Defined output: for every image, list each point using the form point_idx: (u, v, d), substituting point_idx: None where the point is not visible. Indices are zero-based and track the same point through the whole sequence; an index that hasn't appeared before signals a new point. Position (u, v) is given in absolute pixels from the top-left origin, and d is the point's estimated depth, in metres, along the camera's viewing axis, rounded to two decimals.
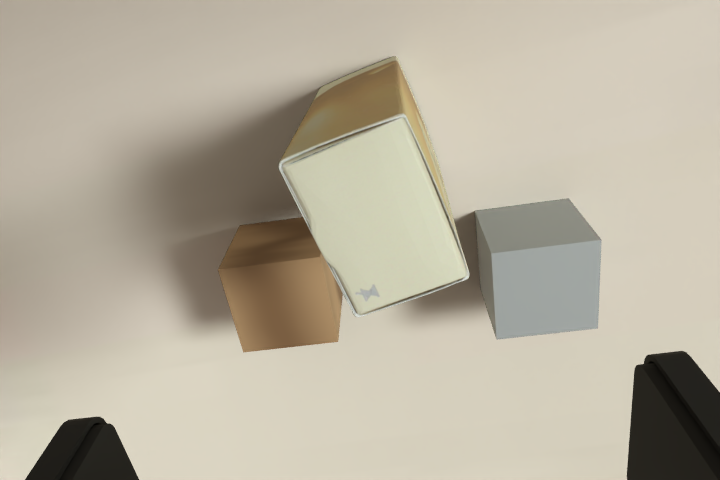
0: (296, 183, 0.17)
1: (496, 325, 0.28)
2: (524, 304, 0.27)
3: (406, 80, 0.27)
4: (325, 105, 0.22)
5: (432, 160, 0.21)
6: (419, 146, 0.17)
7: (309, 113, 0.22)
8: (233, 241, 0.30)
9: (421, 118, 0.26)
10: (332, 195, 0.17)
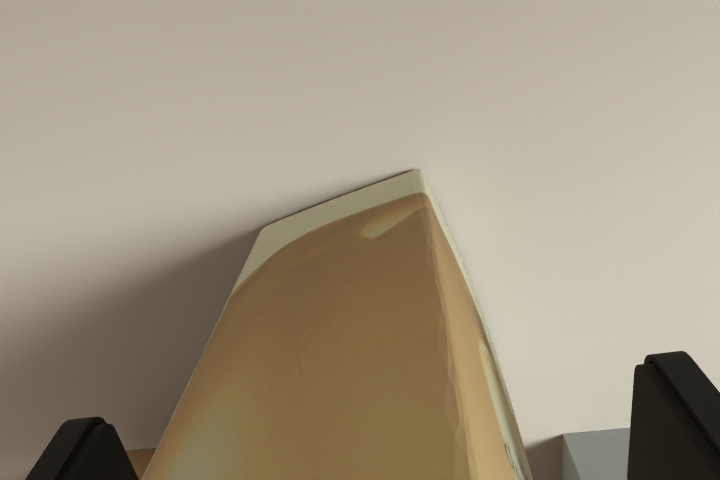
0: None
1: None
2: None
3: (443, 225, 0.12)
4: (236, 374, 0.08)
5: None
6: None
7: (191, 396, 0.08)
8: None
9: (476, 309, 0.12)
10: None
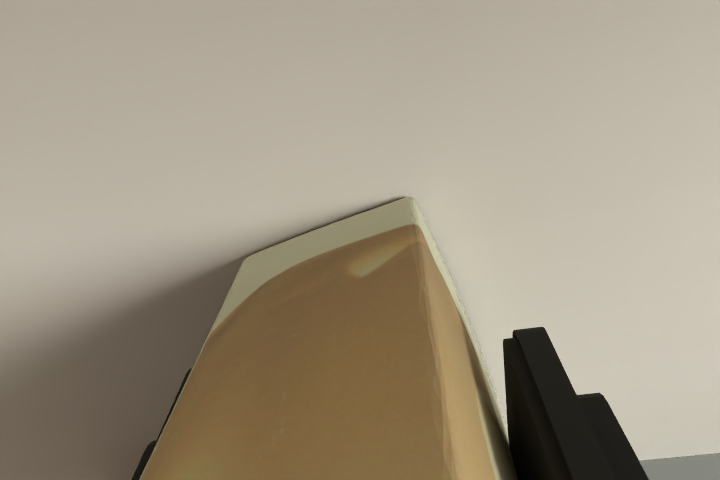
0: None
1: None
2: None
3: (437, 256, 0.11)
4: (208, 439, 0.07)
5: None
6: None
7: (158, 464, 0.07)
8: None
9: (472, 346, 0.11)
10: None
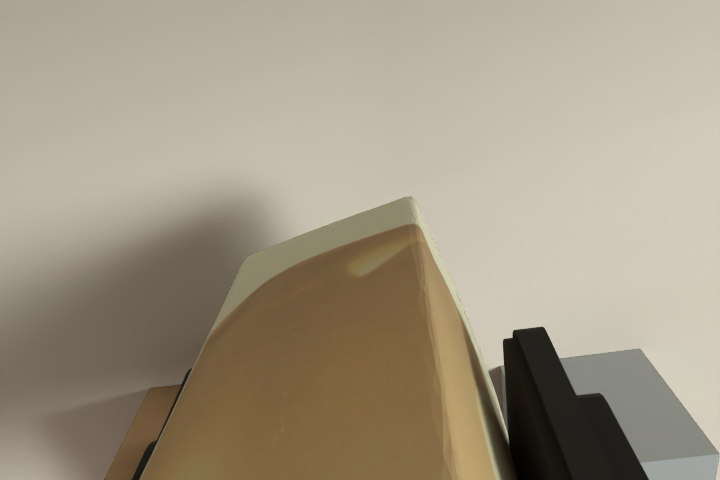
0: None
1: None
2: None
3: (437, 256, 0.12)
4: (208, 437, 0.07)
5: None
6: None
7: (158, 463, 0.07)
8: (133, 426, 0.19)
9: (472, 345, 0.11)
10: None
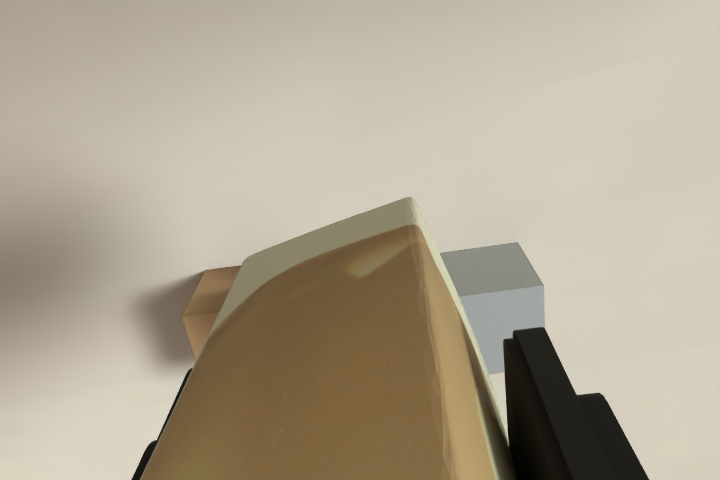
0: None
1: None
2: None
3: (437, 257, 0.12)
4: (208, 438, 0.07)
5: None
6: None
7: (158, 463, 0.07)
8: (198, 287, 0.31)
9: (472, 346, 0.11)
10: None
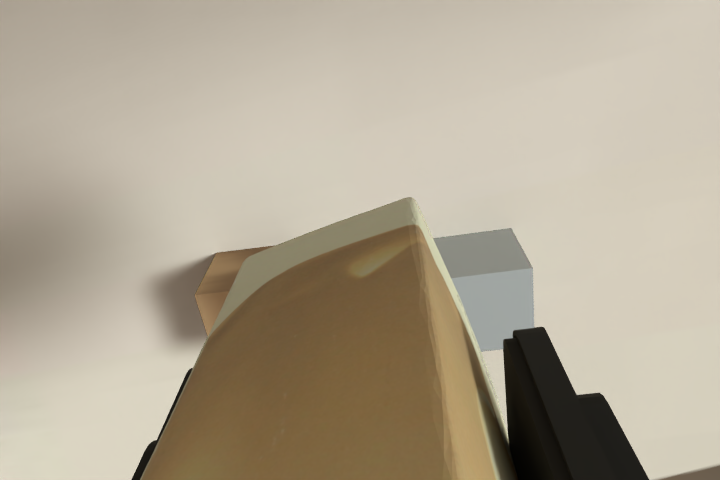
0: None
1: None
2: None
3: (437, 257, 0.11)
4: (208, 439, 0.07)
5: None
6: None
7: (158, 465, 0.07)
8: (209, 268, 0.33)
9: (473, 346, 0.11)
10: None
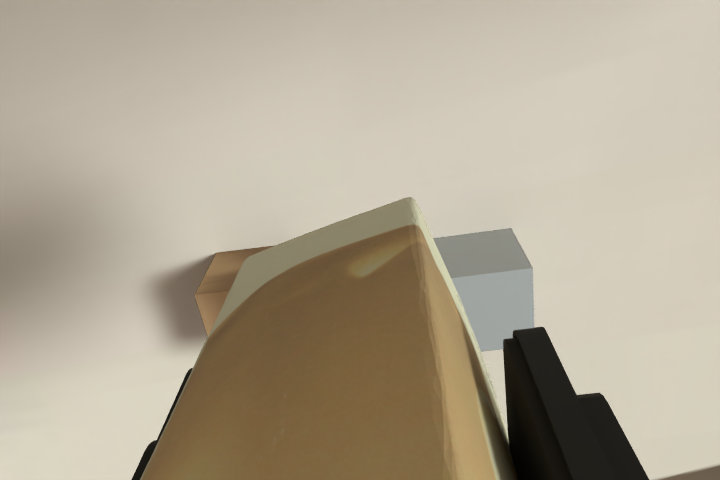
0: None
1: None
2: None
3: (437, 257, 0.11)
4: (208, 439, 0.07)
5: None
6: None
7: (158, 465, 0.07)
8: (209, 268, 0.33)
9: (473, 346, 0.11)
10: None
